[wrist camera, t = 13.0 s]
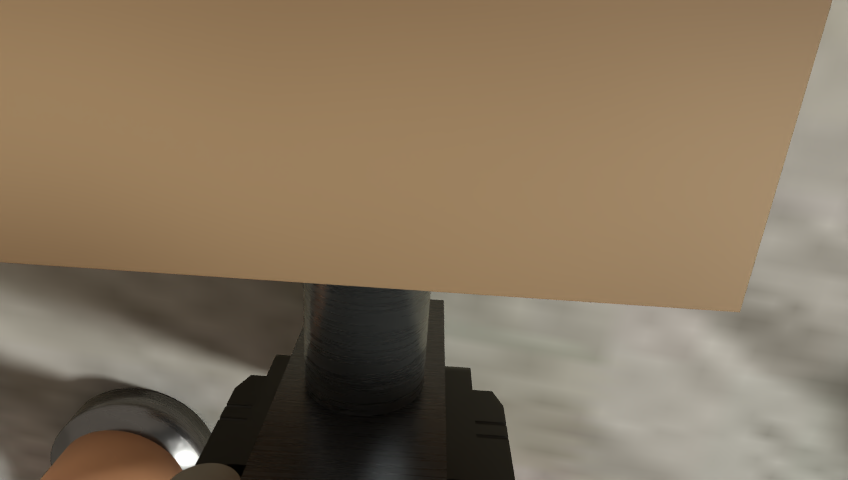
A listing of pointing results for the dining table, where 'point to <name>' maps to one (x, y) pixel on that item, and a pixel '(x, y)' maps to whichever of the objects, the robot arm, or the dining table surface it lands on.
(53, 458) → the dark grey puck
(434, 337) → the dark grey hammer
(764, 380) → the dining table surface
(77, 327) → the dining table surface
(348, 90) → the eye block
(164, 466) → the latch bar
